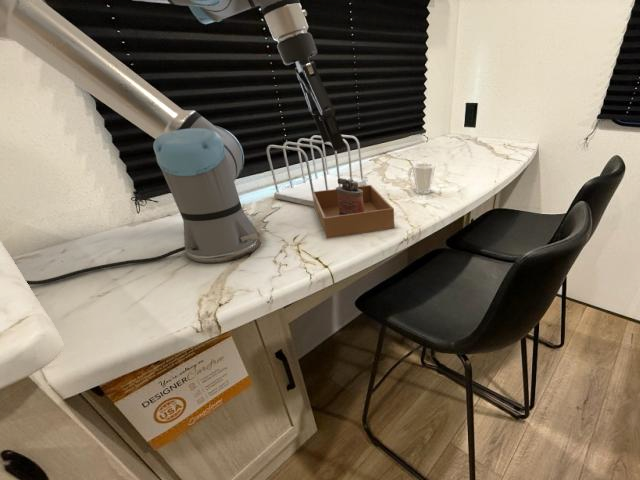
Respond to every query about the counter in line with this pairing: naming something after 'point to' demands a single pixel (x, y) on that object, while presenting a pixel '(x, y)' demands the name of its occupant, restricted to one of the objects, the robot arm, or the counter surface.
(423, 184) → the cup
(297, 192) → the file sorter
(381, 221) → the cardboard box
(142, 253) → the counter surface
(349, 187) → the lighter
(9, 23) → the robot arm
